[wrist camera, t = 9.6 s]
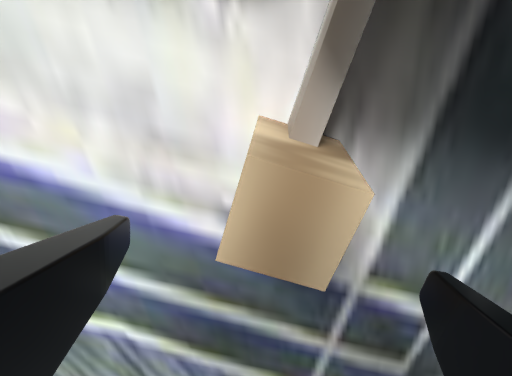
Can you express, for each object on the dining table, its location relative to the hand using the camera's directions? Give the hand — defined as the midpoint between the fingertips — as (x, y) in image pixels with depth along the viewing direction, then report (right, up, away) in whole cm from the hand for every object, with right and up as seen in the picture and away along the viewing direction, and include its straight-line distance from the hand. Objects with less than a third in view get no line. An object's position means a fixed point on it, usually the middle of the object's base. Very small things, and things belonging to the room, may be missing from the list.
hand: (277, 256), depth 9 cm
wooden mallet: (+2, +8, +4) cm, 9 cm away
